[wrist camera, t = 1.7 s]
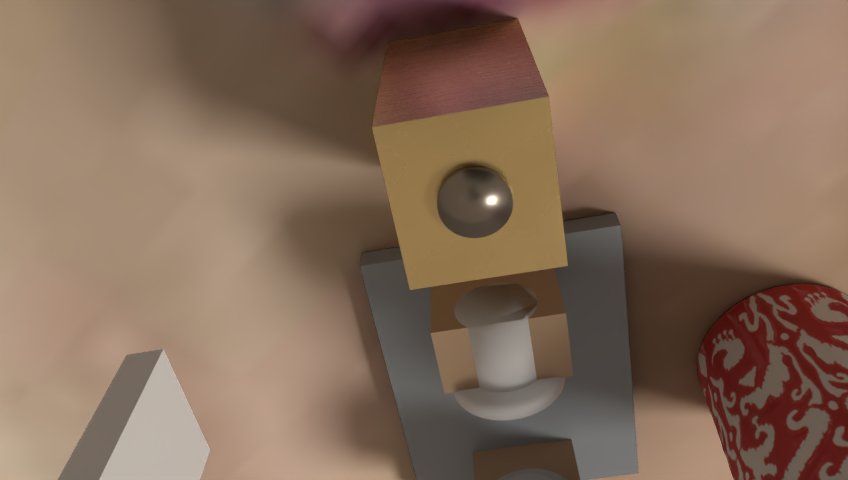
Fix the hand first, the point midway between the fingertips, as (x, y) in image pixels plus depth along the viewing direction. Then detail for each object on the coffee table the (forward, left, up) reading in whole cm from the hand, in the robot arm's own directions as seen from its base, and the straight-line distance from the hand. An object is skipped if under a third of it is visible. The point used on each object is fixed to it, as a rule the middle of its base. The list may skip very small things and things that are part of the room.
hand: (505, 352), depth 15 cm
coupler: (0, 0, -15) cm, 15 cm away
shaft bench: (+12, 0, -15) cm, 19 cm away
